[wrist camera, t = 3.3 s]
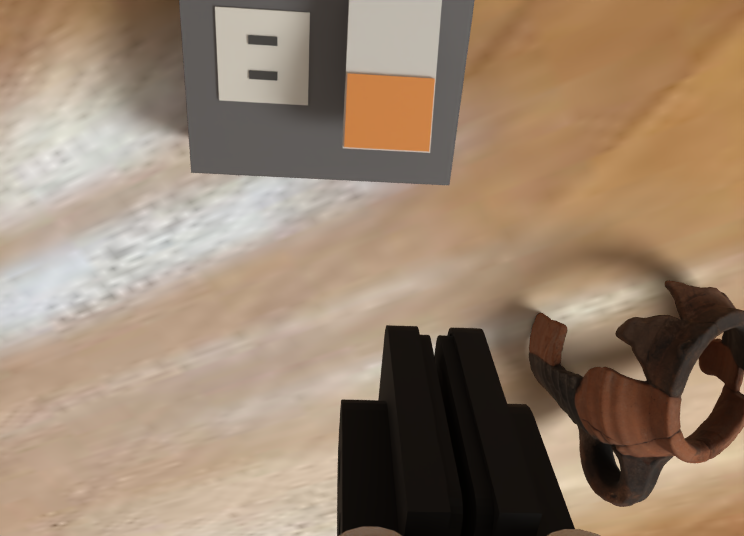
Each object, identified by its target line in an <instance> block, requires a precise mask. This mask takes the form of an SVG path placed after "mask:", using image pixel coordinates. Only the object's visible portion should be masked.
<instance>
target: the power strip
mask: <svg viewBox="0 0 744 536" xmlns="http://www.w3.org/2000/svg"><path fill="white" fill-rule="evenodd" d="M179 5H180V19H181V33H182V47H183V62H184V76H185V90H186V104H187V119H188V133H189V147H190V161H191V173H209V174H229V175H249V176H269V177H290V178H310V179H330V180H351V181H371V182H391V183H411V184H432V185H449V184H450V176H451V169H452V162H453V154H454V147H455V140H456V132H457V125H458V117H459V110H460V103H461V95H462V88H463V81H464V73H465V66H466V59H467V51H468V44H469V37H470V29H471V22H472V15H473V7H474V0H442V6H441V19H440V32H439V45H438V57H437V70H436V83H435V96H434V109H433V121H432V134H431V147H430V153H424V152H405V151H386V150H367V149H348V148H343V147H342V141H343V118H344V96H345V73H346V51H347V28H348V6H349V0H179Z"/></svg>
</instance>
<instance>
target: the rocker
mask: <svg viewBox="0 0 744 536" xmlns="http://www.w3.org/2000/svg"><path fill="white" fill-rule="evenodd" d="M441 6H442V0H349V6H348V28H347V51H346V73H345V96H344V118H343V141H342V147H343V148H348V149H367V150H386V151H405V152H424V153H430V147H431V134H432V121H433V109H434V96H435V83H436V70H437V57H438V45H439V32H440V19H441Z"/></svg>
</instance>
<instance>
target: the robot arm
mask: <svg viewBox="0 0 744 536" xmlns="http://www.w3.org/2000/svg"><path fill="white" fill-rule="evenodd" d="M337 536H600V535H598V534H595V533H592V532H588V531H584V530H581V529H575V528H574V525H573V522H572V520H571V517H570V514H569V512H568V509H567V506H566V503H565V501H564V498H563V495H562V492H561V490H560V487H559V484H558V481H557V479H556V476H555V473H554V471H553V468H552V465H551V462H550V460H549V457H548V454H547V451H546V449H545V446H544V443H543V440H542V438H541V435H540V432H539V430H538V427H537V424H536V421H535V419H534V416H533V413H532V411H531V409H530V407H528V406H527V405H526V404H507V402H506V399H505V396H504V393H503V390H502V387H501V384H500V380H499V377H498V374H497V371H496V368H495V365H494V362H493V359H492V356H491V353H490V350H489V346H488V343H487V340H486V337H485V334H484V332H483V330H482V329H477V328H450V329H449V332H448V336H441V335H439V336H438V337H437V341H436V348H435V355H434V353H433V348H432V343H431V338H430V336H429V335H420V334H419V329H418V327H417V326H389V325H387V326H386V329H385V337H384V347H383V358H382V368H381V379H380V389H379V400H378V401H375V400H341V409H340V425H339V445H338V482H337Z"/></svg>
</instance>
